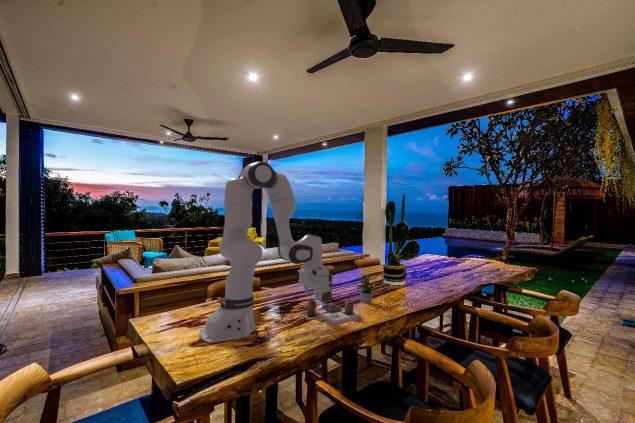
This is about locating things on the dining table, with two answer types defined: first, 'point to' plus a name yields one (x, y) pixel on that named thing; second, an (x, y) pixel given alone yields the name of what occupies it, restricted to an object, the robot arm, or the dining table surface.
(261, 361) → the dining table surface
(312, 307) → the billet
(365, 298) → the house plant
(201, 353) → the dining table surface
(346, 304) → the billet
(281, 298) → the dining table surface
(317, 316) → the parts tray
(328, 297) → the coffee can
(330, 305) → the button
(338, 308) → the button housing
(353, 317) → the plate
